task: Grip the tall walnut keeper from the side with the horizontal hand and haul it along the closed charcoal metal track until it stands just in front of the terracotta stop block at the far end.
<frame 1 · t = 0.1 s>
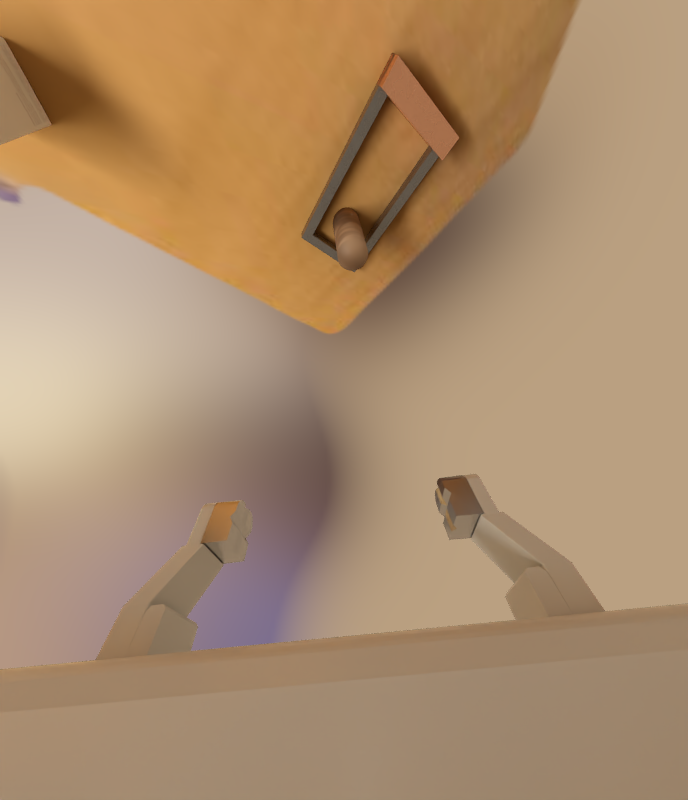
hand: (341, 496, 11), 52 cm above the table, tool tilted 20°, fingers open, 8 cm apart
keeper: (346, 223, 49), resting in guide track
guide track: (367, 187, 44), on the table
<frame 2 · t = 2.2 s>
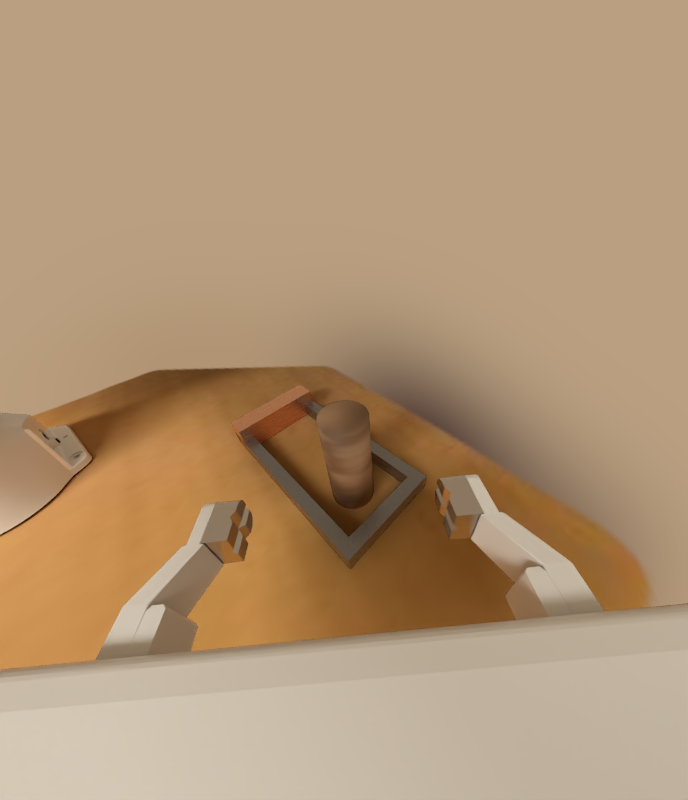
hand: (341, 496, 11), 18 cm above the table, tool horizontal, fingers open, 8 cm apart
keeper: (353, 489, 32), resting in guide track
guide track: (320, 460, 36), on the table
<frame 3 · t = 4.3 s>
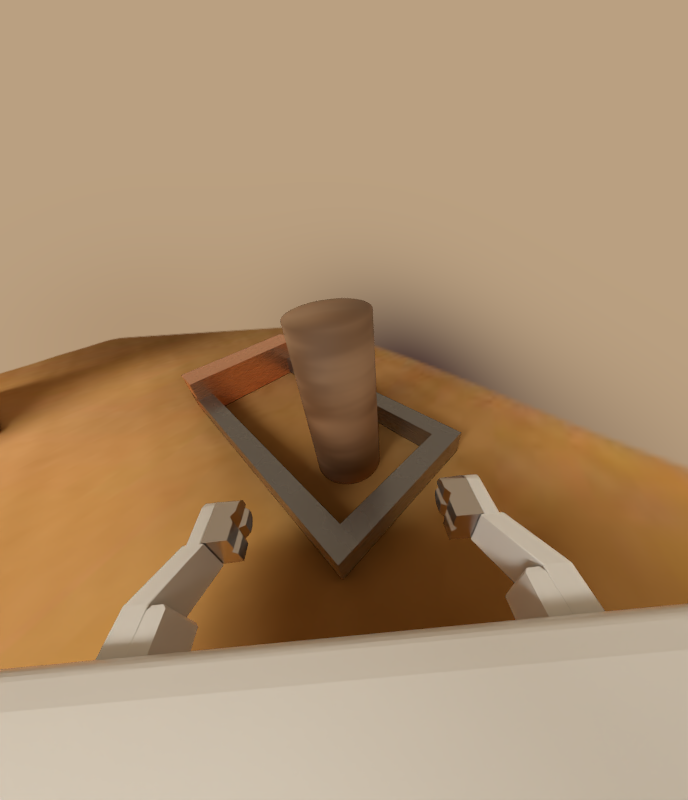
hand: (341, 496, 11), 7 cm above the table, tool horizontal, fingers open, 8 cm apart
keeper: (348, 457, 21), resting in guide track
guide track: (303, 422, 25), on the table
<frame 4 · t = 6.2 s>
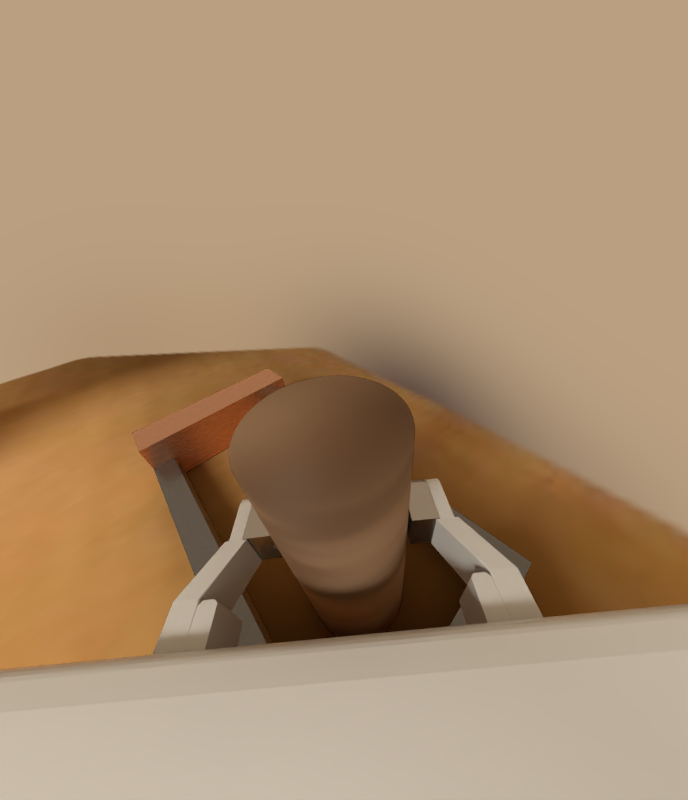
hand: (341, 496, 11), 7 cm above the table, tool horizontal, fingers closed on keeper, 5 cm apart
keeper: (356, 581, 14), resting in guide track, touching gripper
guide track: (292, 506, 18), on the table
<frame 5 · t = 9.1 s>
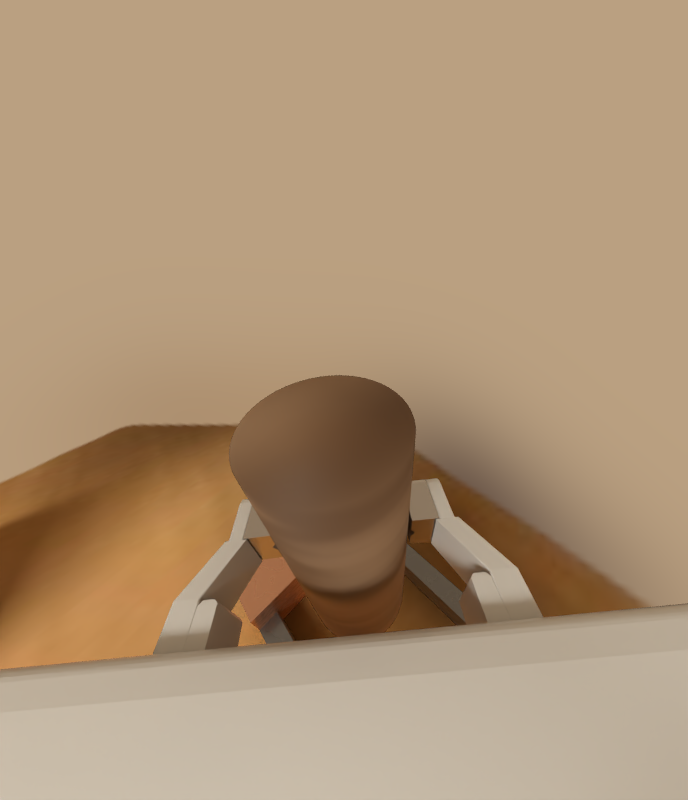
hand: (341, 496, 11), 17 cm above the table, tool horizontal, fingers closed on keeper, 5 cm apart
keeper: (356, 581, 14), point 10 cm above the table, touching gripper
guide track: (416, 684, 17), on the table
when the fingers open (8 cm above the table, at t = 11.8 s): keeper drops 1 cm, resting in guide track.
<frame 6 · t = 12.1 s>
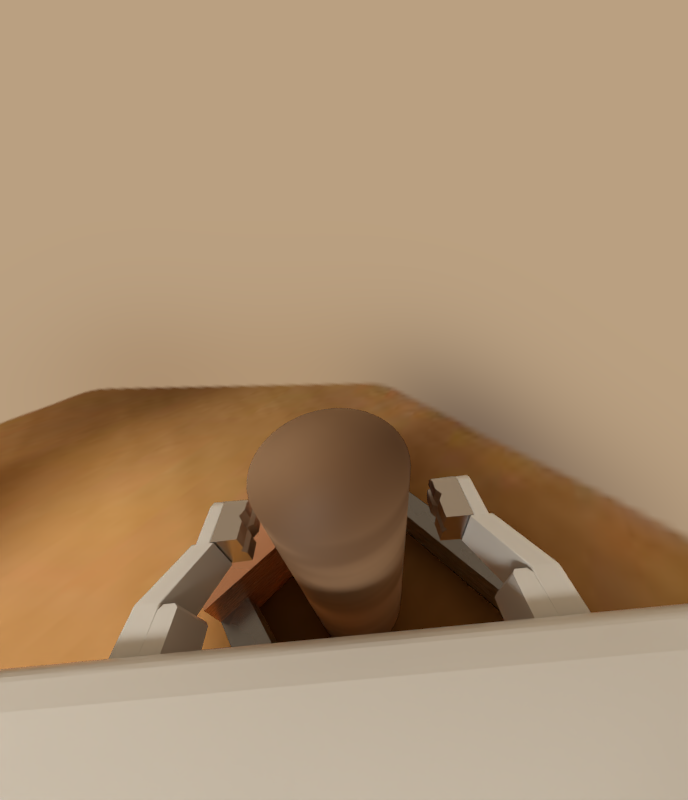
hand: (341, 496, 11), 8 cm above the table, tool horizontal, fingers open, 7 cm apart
keeper: (357, 590, 15), resting in guide track
guide track: (454, 704, 11), on the table
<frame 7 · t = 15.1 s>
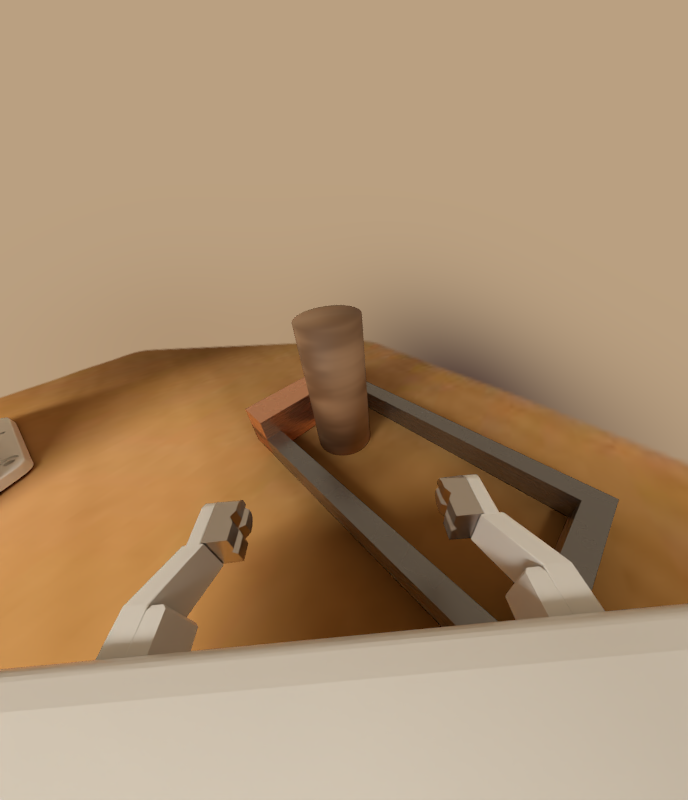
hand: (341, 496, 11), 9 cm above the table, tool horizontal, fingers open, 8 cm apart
keeper: (344, 435, 26), resting in guide track
guide track: (393, 469, 22), on the table
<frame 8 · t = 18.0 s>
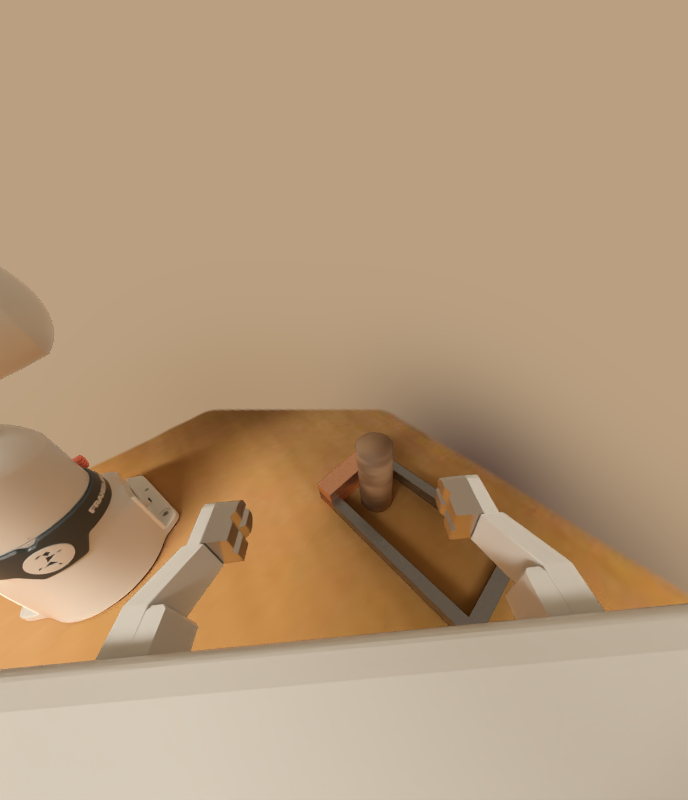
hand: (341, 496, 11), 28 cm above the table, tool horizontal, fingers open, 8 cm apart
keeper: (376, 497, 41), resting in guide track
guide track: (408, 522, 37), on the table
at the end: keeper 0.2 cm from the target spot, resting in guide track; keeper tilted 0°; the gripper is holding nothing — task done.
